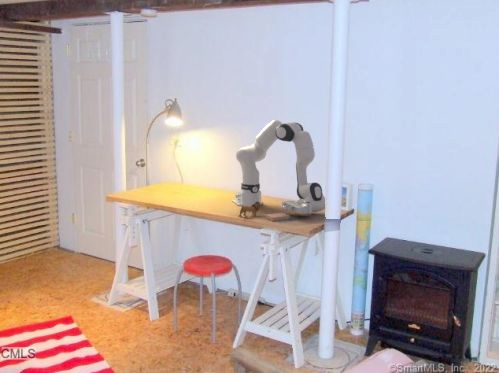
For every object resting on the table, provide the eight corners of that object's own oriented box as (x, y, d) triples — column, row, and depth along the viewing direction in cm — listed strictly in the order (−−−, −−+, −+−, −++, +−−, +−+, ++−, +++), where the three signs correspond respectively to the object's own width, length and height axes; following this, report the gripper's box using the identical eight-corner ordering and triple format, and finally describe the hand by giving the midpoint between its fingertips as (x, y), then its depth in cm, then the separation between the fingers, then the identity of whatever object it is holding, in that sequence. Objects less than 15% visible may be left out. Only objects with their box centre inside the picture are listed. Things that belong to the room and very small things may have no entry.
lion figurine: (258, 214, 336) (258, 200, 334) (262, 216, 331) (262, 201, 330) (236, 216, 329) (236, 202, 328) (240, 218, 325) (240, 203, 323)
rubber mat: (264, 216, 330) (264, 216, 330) (286, 214, 337) (286, 213, 337) (279, 223, 314) (279, 222, 314) (302, 220, 322) (302, 219, 322)
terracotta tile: (282, 216, 330) (265, 218, 324) (282, 212, 330) (265, 214, 324) (289, 219, 323) (271, 221, 318) (289, 215, 323) (272, 217, 317)
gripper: (294, 197, 340) (274, 199, 333) (312, 204, 322) (293, 206, 315) (293, 207, 341) (274, 209, 334) (312, 214, 323) (292, 216, 317)
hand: (283, 208), depth 325 cm, fingers closed
